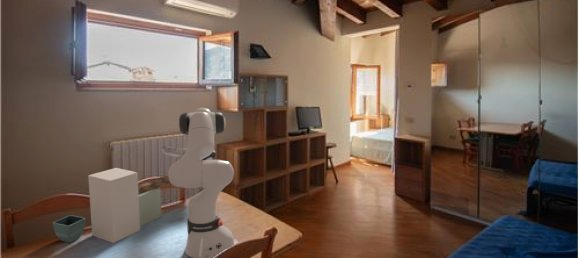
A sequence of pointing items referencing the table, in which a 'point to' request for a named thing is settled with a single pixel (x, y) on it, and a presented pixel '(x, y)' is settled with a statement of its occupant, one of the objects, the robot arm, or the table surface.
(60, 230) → the flower pot
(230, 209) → the table surface
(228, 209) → the table surface
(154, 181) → the walnut bar
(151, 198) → the step
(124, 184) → the tall white pillar
